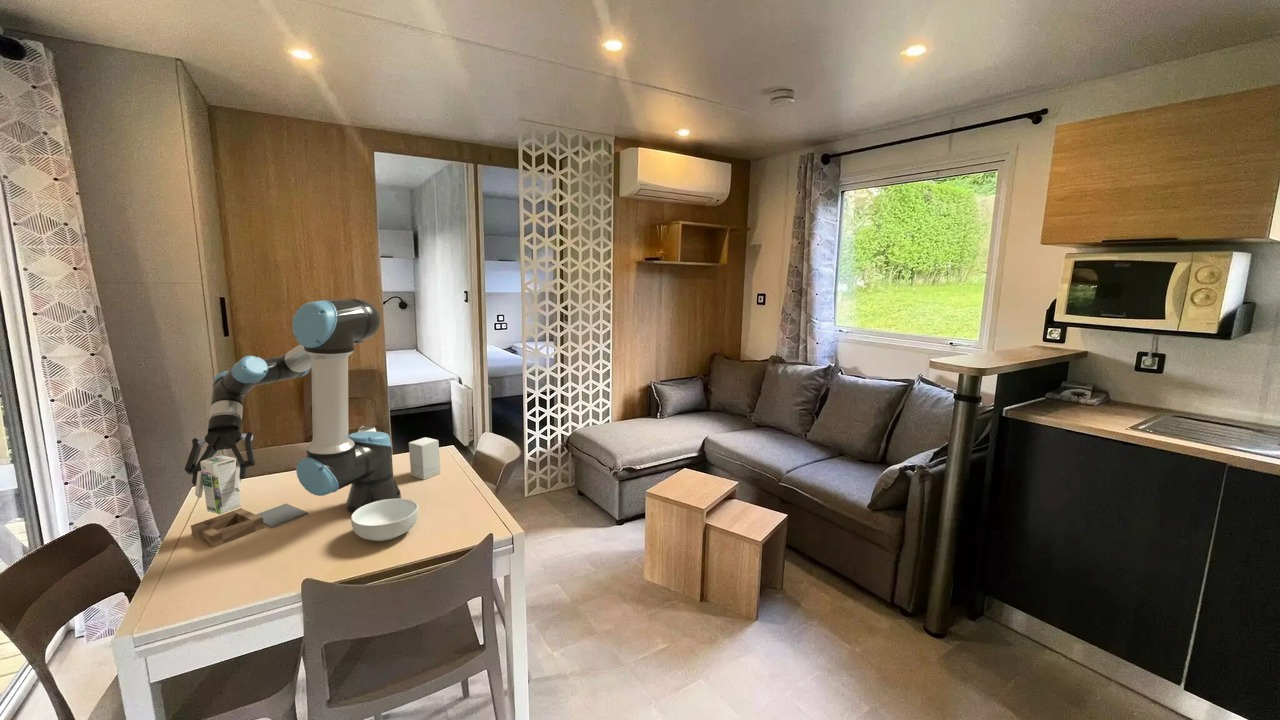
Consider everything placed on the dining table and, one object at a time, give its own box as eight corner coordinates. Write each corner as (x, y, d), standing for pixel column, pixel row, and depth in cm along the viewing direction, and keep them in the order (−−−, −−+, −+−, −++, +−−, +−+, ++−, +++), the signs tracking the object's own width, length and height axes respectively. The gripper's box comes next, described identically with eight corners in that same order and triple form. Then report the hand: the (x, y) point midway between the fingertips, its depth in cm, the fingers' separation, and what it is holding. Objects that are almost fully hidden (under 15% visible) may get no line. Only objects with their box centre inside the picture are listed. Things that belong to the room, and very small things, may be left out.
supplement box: (441, 473, 186) (439, 440, 184) (423, 480, 180) (421, 445, 178) (428, 469, 190) (426, 436, 188) (410, 475, 184) (407, 442, 182)
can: (372, 460, 199) (370, 430, 197) (356, 459, 199) (353, 430, 197) (381, 454, 205) (379, 425, 203) (365, 453, 205) (362, 425, 203)
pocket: (264, 528, 146) (262, 517, 145) (213, 547, 135) (212, 536, 135) (242, 518, 151) (241, 508, 151) (192, 536, 141) (190, 525, 141)
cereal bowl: (415, 545, 138) (413, 520, 136) (346, 554, 133) (343, 529, 132) (422, 516, 154) (421, 494, 152) (361, 523, 149) (358, 500, 148)
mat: (308, 514, 154) (308, 512, 154) (271, 528, 146) (271, 526, 146) (286, 505, 160) (286, 503, 160) (249, 518, 151) (249, 516, 151)
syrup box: (206, 511, 141) (197, 461, 138) (230, 502, 146) (222, 454, 144) (219, 515, 139) (211, 464, 136) (242, 505, 144) (235, 456, 142)
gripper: (271, 421, 157) (267, 491, 146) (185, 431, 148) (173, 505, 137) (265, 408, 152) (261, 479, 140) (175, 417, 143) (163, 494, 131)
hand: (218, 492), depth 138 cm, fingers closed on syrup box, 8 cm apart
